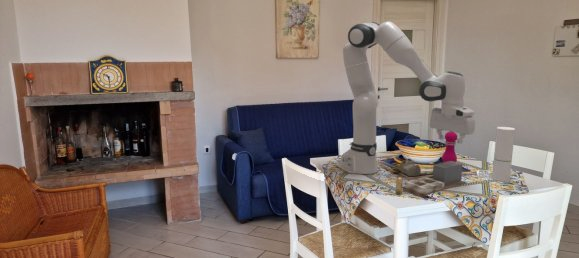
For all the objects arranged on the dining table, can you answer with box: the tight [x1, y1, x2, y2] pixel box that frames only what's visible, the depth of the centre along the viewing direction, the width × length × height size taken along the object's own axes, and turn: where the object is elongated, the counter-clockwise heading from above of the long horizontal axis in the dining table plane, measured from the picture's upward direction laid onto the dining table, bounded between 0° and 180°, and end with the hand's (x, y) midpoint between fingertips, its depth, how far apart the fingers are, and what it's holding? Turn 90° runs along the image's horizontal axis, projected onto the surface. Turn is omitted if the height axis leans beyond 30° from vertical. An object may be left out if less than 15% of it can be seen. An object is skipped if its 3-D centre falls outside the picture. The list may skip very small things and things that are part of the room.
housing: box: [432, 161, 463, 186], centre depth 180 cm, size 6×12×8 cm, turn 122°
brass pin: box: [395, 176, 404, 196], centre depth 170 cm, size 3×3×7 cm
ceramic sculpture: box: [390, 158, 422, 177], centre depth 195 cm, size 11×9×15 cm
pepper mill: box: [441, 131, 458, 163], centre depth 206 cm, size 7×7×20 cm
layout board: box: [402, 176, 468, 199], centre depth 177 cm, size 12×28×6 cm, turn 123°
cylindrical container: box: [491, 126, 516, 184], centre depth 182 cm, size 7×7×25 cm
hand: (450, 141), depth 177 cm, fingers open, 8 cm apart
